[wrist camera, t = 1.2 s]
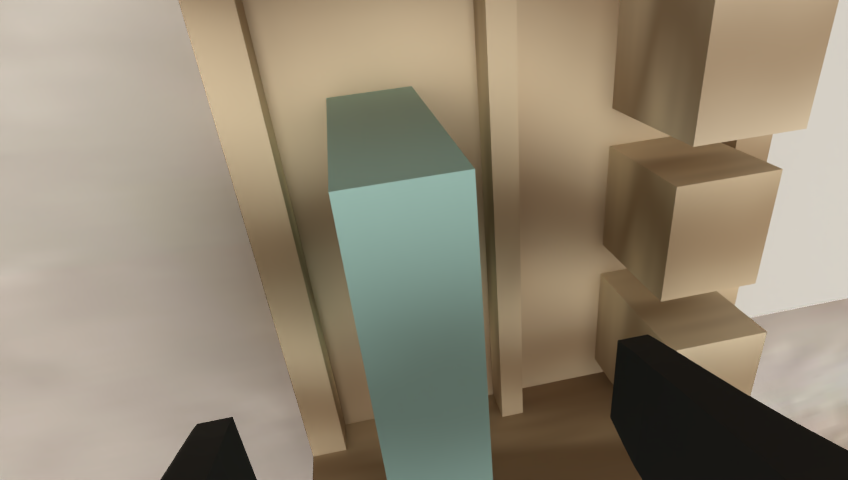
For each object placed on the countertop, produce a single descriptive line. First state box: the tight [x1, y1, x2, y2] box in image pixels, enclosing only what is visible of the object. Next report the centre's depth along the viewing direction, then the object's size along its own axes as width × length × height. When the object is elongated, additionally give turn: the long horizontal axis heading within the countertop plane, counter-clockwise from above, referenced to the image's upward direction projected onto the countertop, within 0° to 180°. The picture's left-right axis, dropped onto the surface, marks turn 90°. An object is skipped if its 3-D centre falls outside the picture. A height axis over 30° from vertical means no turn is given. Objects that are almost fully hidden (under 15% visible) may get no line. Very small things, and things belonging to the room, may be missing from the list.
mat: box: [735, 0, 848, 318], centre depth 19 cm, size 13×7×1 cm, turn 6°
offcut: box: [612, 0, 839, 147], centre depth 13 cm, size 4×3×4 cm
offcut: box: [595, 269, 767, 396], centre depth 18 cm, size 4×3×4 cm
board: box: [326, 86, 493, 480], centre depth 14 cm, size 9×2×7 cm, turn 6°
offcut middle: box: [603, 136, 783, 302], centre depth 16 cm, size 4×3×4 cm
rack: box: [179, 0, 773, 480], centre depth 15 cm, size 18×16×7 cm
